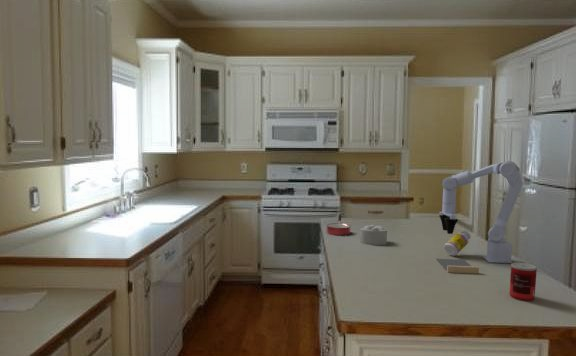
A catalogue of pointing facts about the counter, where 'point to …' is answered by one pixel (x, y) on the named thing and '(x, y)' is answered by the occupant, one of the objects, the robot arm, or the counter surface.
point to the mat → (457, 266)
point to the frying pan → (338, 228)
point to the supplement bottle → (457, 243)
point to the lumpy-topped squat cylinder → (373, 235)
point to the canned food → (523, 281)
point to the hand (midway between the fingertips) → (447, 231)
